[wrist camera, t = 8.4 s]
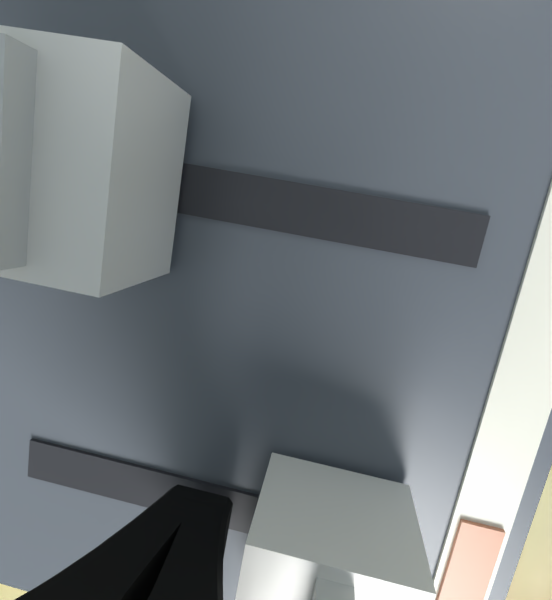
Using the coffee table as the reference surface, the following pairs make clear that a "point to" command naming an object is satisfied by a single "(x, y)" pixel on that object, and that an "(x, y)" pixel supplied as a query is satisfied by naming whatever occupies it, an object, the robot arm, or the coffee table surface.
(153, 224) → the middle tab
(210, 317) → the switch panel
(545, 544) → the coffee table surface
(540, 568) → the coffee table surface
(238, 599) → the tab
